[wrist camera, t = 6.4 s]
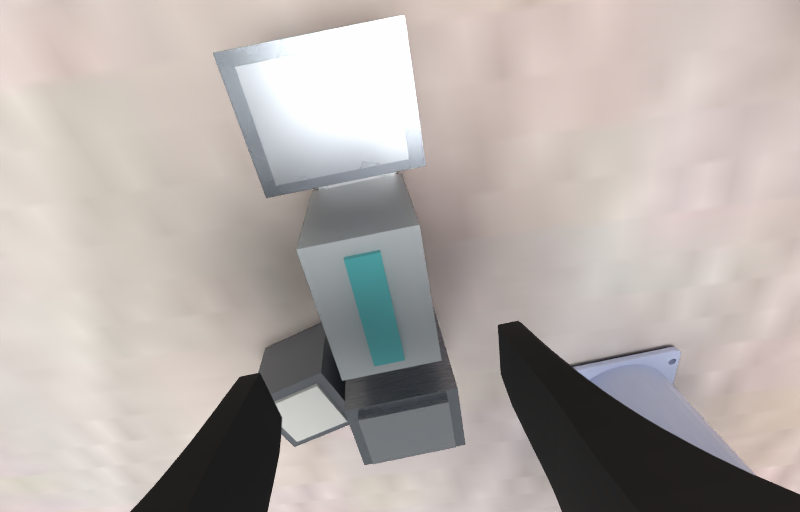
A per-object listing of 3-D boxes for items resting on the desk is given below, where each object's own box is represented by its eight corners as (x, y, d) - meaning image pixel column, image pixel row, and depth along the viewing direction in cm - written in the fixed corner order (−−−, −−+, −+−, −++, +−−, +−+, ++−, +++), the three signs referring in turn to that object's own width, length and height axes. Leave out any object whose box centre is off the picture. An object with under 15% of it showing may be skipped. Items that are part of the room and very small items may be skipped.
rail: (441, 356, 24) (466, 450, 18) (362, 372, 24) (364, 471, 18) (387, 23, 15) (406, 13, 10) (262, 48, 15) (209, 53, 10)
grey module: (421, 284, 20) (442, 364, 15) (345, 299, 20) (342, 384, 15) (401, 173, 17) (420, 227, 12) (312, 191, 17) (295, 252, 12)
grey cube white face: (359, 364, 24) (360, 423, 20) (303, 388, 24) (294, 450, 21) (326, 319, 22) (320, 375, 18) (265, 347, 22) (248, 406, 19)
